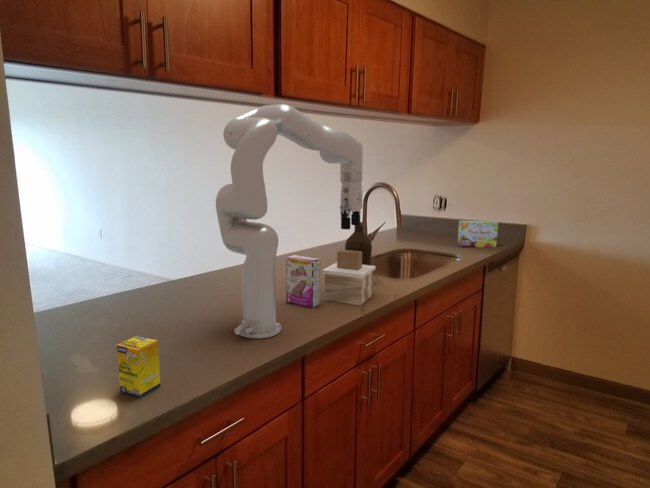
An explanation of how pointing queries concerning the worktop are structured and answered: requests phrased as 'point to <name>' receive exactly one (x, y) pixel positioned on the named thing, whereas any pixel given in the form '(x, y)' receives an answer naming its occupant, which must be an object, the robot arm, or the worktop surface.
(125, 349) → the supplement box
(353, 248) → the olive oil
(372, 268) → the lid
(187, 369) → the worktop surface
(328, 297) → the box
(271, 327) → the robot arm
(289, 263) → the candy bar box
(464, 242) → the snack box
